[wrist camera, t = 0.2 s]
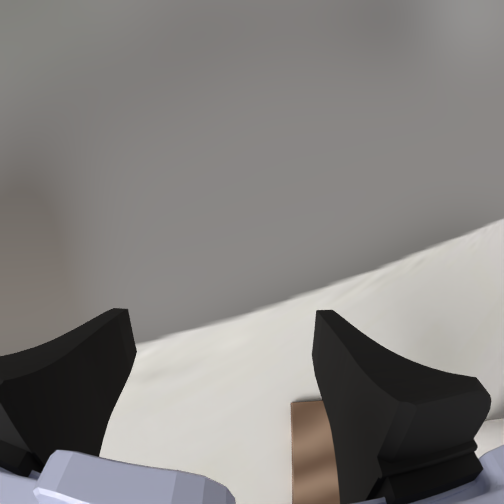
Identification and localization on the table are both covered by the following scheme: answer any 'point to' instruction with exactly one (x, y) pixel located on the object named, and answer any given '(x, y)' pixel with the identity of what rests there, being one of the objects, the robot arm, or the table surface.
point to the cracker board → (313, 455)
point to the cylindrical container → (489, 436)
